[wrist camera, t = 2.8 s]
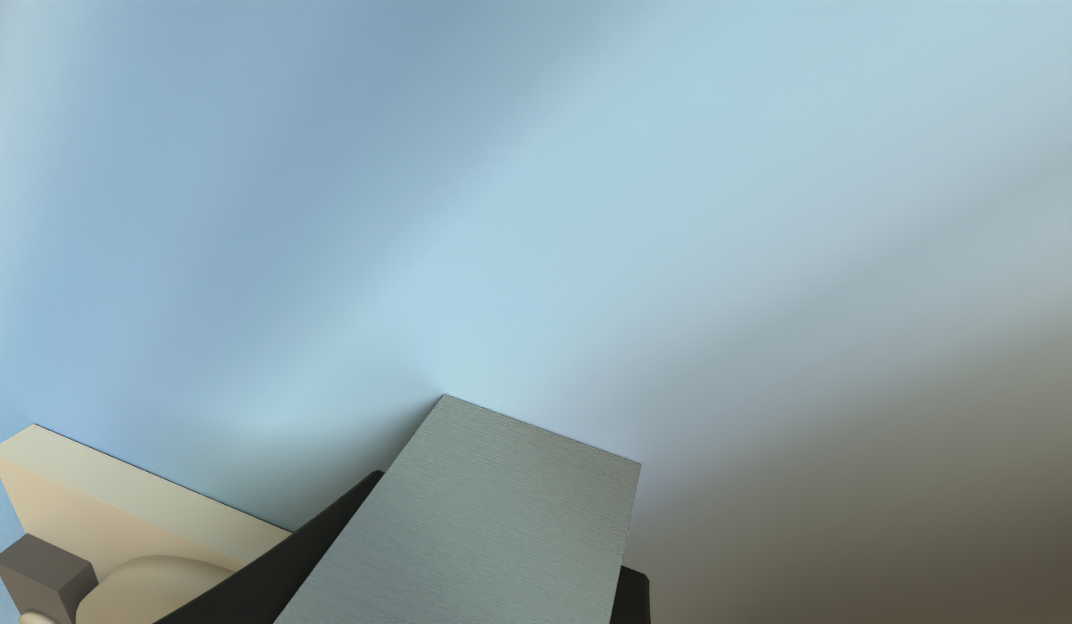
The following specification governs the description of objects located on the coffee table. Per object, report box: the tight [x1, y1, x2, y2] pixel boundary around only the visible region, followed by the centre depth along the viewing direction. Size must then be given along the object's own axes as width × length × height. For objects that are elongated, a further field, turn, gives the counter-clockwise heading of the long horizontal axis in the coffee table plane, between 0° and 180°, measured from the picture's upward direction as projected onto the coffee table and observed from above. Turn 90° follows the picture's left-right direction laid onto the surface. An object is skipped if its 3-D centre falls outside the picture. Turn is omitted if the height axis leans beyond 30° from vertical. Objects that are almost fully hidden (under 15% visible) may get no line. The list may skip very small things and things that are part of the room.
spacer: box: [273, 394, 641, 624], centre depth 10 cm, size 4×4×5 cm
